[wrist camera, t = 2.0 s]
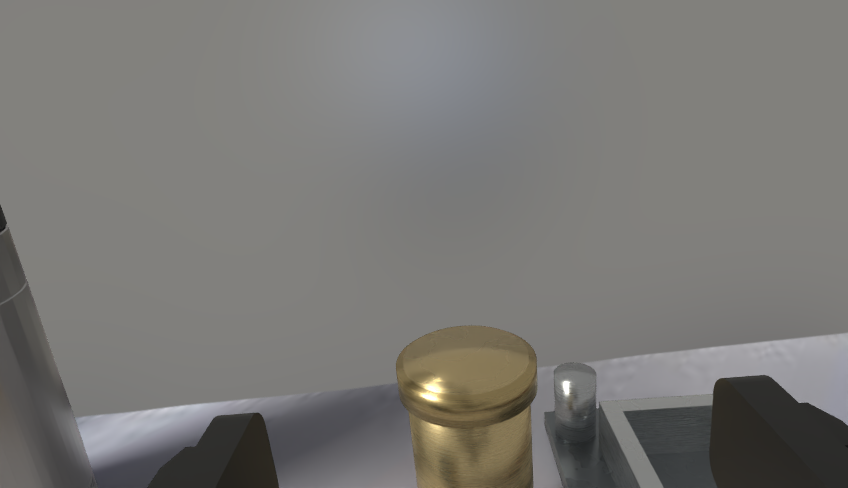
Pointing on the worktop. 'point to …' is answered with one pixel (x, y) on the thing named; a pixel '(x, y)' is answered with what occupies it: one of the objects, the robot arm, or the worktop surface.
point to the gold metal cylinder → (469, 407)
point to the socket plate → (627, 437)
